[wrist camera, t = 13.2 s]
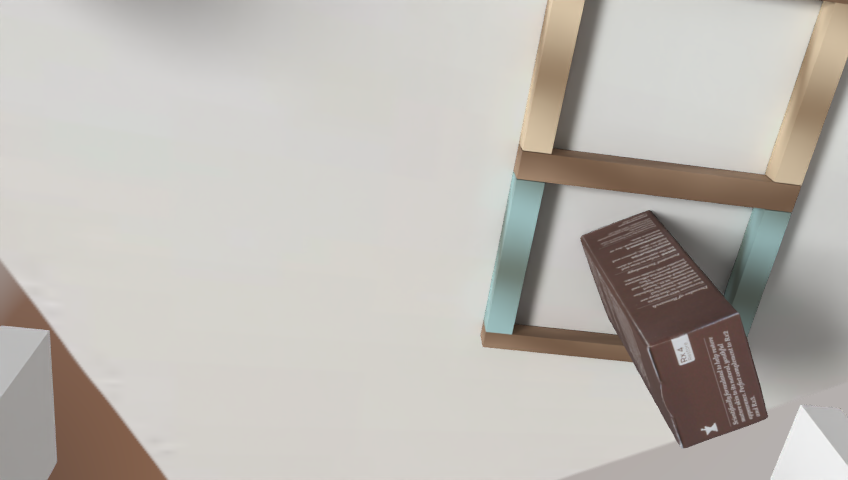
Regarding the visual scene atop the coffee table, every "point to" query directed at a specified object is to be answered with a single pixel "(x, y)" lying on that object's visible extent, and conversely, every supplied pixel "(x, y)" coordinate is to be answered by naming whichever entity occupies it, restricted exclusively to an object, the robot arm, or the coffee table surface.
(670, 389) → the box
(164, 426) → the coffee table surface
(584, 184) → the two-pane wooden frame
